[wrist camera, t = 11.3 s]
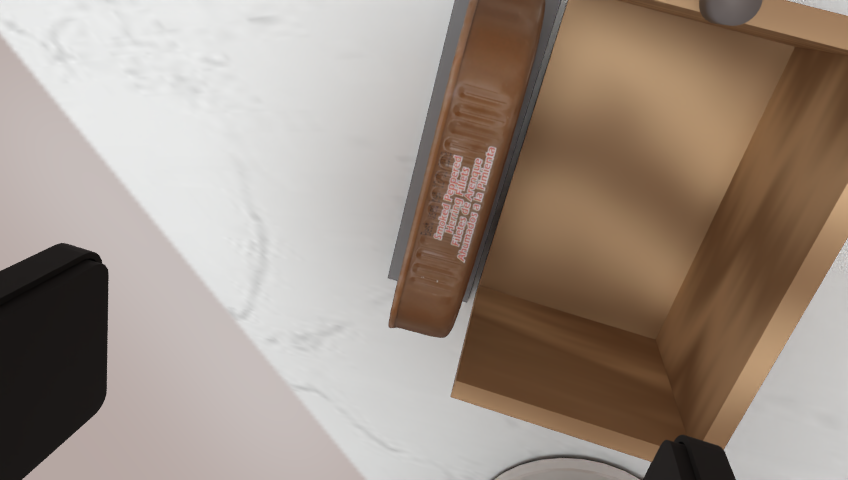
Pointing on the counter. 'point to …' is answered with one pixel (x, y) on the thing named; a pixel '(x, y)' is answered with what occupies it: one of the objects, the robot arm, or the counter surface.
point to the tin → (466, 161)
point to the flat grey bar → (431, 122)
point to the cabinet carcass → (663, 219)
